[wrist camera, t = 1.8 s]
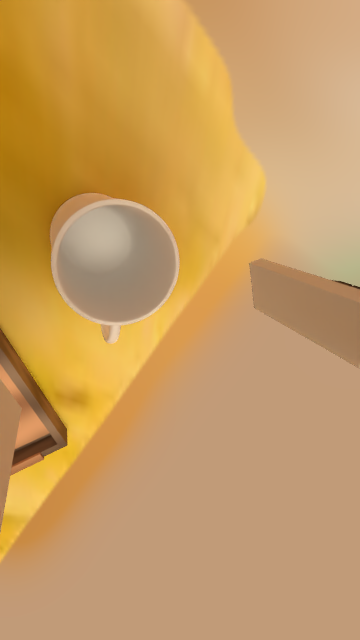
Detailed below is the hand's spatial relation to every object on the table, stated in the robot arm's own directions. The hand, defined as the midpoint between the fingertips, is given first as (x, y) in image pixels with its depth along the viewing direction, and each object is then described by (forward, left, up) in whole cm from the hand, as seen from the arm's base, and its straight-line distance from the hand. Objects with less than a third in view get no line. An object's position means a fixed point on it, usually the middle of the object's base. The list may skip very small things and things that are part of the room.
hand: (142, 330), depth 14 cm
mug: (0, 0, -18) cm, 18 cm away
